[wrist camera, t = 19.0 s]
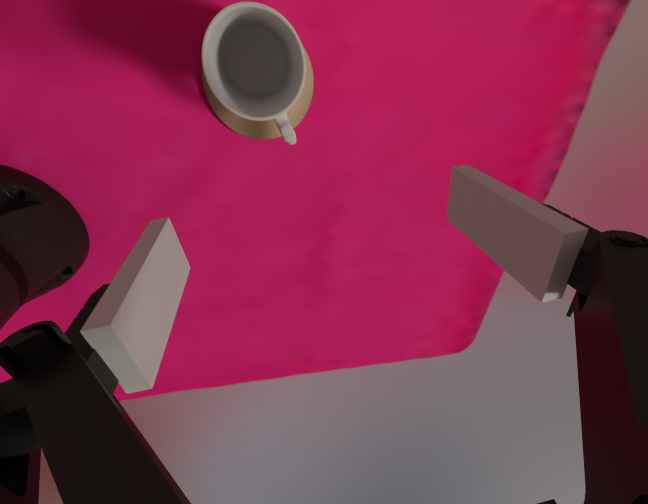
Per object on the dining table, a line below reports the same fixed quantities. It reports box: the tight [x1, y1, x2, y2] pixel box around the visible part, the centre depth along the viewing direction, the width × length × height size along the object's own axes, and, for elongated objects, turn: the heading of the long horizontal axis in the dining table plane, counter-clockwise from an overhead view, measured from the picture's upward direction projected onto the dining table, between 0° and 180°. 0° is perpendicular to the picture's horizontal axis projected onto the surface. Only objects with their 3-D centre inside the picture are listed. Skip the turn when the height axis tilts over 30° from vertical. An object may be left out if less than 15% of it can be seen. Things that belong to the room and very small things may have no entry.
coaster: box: [202, 45, 314, 139], centre depth 32 cm, size 11×11×1 cm
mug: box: [202, 2, 306, 145], centre depth 27 cm, size 10×7×12 cm, turn 23°
